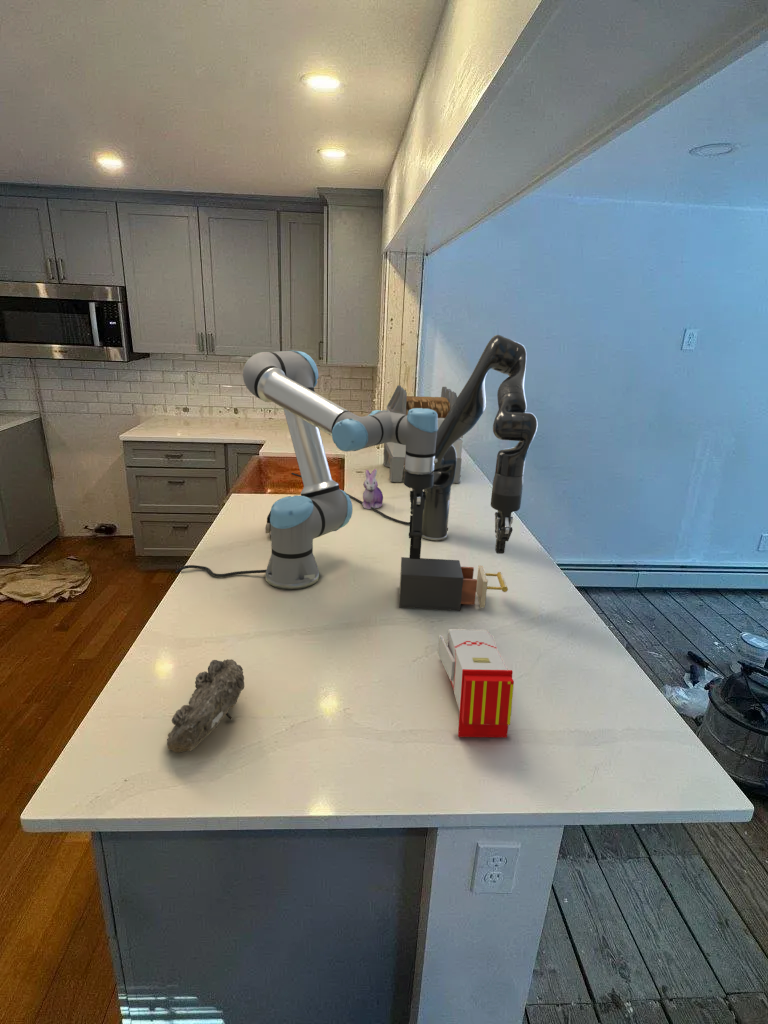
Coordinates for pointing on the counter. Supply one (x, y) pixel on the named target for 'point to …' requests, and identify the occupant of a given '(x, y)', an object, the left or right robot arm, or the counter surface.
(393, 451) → the transformer
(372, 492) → the figurine
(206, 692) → the fossil
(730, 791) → the counter surface
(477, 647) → the toy
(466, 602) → the drawer
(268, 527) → the figurine character
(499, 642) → the counter surface
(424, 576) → the cabinet
